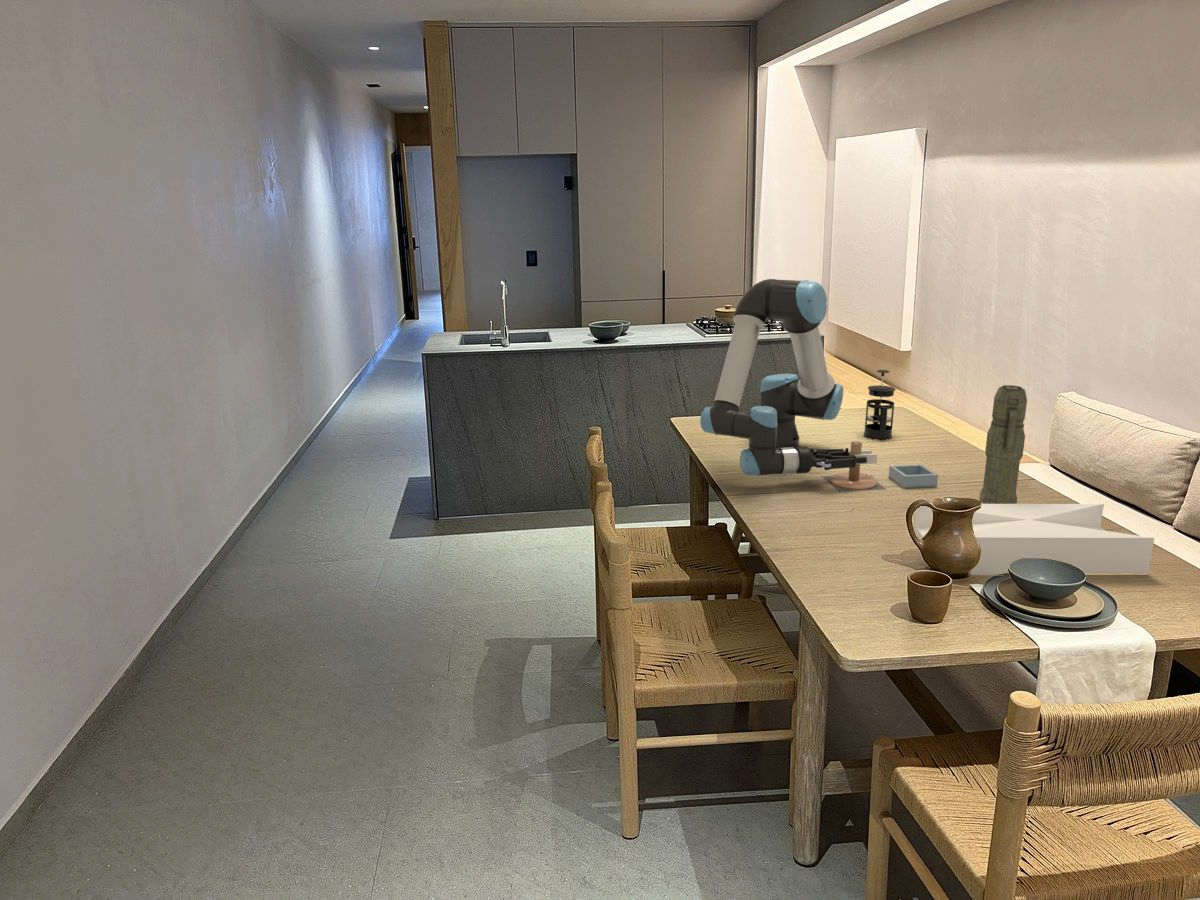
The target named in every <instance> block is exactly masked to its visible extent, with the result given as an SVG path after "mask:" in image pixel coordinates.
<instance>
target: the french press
mask: <svg viewBox="0 0 1200 900" xmlns="http://www.w3.org/2000/svg"><path fill="white" fill-rule="evenodd" d="M890 372H891V371H890V370H887V369H878V370H876V373H880V375H881V385H879V384H878V385H869V386H868V387H867V389H868V394H869V396H872V397H877V398H876V399H875V398H874V399H868V400H866V407H865V419H864V432H863V437H864V436H865V438H866V437H868V438H867V439H869V438H871V439H870V440H874V439H878V440H877V441H884V440H885V439H888V440H891V439H892V438H893V424H894V411H895V402H894V401H892V400H889V399H883V398H889V397H890V398H891V397H894V393H895V391H896V388H895V387H894V386H889V385H883V384H884V383H883V382H884V377H885V374H889V373H890ZM878 397H879V399H878ZM883 404H884V405H883ZM869 408H870V409H873V414H872V415H868V413H869ZM888 410H891V416H888ZM868 421H869V422H872V423H868ZM887 423H890V425H889V424H887ZM890 438H891V439H890ZM885 441H886V440H885Z"/></svg>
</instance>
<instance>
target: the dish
mask: <svg viewBox="0 0 1200 900" xmlns="http://www.w3.org/2000/svg"><path fill="white" fill-rule="evenodd" d="M888 468H889V470H888V478H889V479H890V480H891V481H892V482H894V483H895V484H896V485H898V486H899V487H901V488H902V489H905V490H906V489H921V488H922V489H923V488H936V487H937V488H938V480H939V474H938V473H936V472H934V471H933V470H932V469H930V468H928V467H927V466H925V465H924V464H902V465H901V464H900V465H889V467H888Z"/></svg>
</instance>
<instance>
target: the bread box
mask: <svg viewBox="0 0 1200 900" xmlns="http://www.w3.org/2000/svg"><path fill="white" fill-rule="evenodd" d="M1104 506H1105V504H1104V503H1017V504H982V506H981V508H980V509H979V510H977V511H976V512H975V513H974V515H973V519H972V525H973V531H974V535H975V537H976V539H977V541H978V544H979V545H980V548H981V556H980V560H979V562H978V564H977V565H976V567H975V568H974V569H973V570H972V572H971V573H970V575H969V576H996V575H995V574H1002V573H1008V565H1009V563H1010V562H1012V561H1014V560H1016V559H1020V558H1047V559H1054V560H1059V561H1063V562H1066V563H1069V564H1072V565H1075V566H1077V567H1079V568H1081V569H1082V570H1083V571H1084V572H1085V573H1086V572H1087V573H1113V574H1119V573H1138V574H1143V573H1147V574H1148V575H1149V571H1150V565H1151V559H1152V555H1153V554H1152V553H1153V548H1154V543H1155V537H1150V536H1143V535H1137V534H1136V535H1135V534H1130V533H1122V532H1116V531H1111V530H1110V531H1108V530H1106V529H1104V528H1103V527H1101V525H1102V519H1103V512H1104ZM914 518H915V519H914V527H913V530H914V529H915V531H916V534H917V535H918V537H919V539H922V538H923V537H924V535H925V534H926V533H927V532H928V530H929V528H930V526H931V523H932V510H931V508H930V507H927V506H920V507H919V508H917V509H915V517H914Z"/></svg>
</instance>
